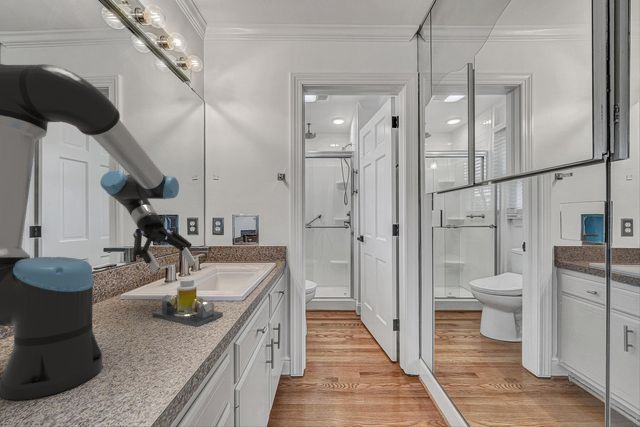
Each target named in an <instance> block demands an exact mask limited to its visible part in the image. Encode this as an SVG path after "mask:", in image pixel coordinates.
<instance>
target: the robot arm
mask: <svg viewBox="0 0 640 427" xmlns="http://www.w3.org/2000/svg"><path fill="white" fill-rule="evenodd" d="M120 119H121V114H120V111H119V110H118V108H116V106H115V105H114V103H113V102H112V101H111V100H110V99H109V98H108V97H107V96H106V95H105V94H104V93H103V92H102V91H101V90H99V88H97V87H96V86H94V85H93V84H92V83H91V82H90V81H88V80H87V79H84V78H83V77H82V76H79V75H78V74H76V73H74V72H73V71H70V70H68V69H66V68H64V67H61V66H57V65H53V64H46V63H45V64H43V63H42V64H4V63H0V327H13V336H14V337H13V347H12V351H11V353H10V356H9V358H8V360H7V363H6V366H5V367H4V370H3V373H2V375H1V377H0V397H2V398H4V399H6V400H12V401H13V400H14V401H15V400H16V401H18V400H20V401H21V400H30V399H31V400H32V399H37V398H43V397H47V396H51V395H55V394H58V393H60V392H61V393H62V392H64V391H67V390H70V389H72V388H74V387H76V386H79V385H81V384H83V383H85V382H87V381H89V380H90V379H92V378H94V377H95V376H96V375H97V374H98V373H99V372H100V371H102V369H103V364H104V362H103V353H102V350H101V348H100V346H99V344H98V341H97V339H96V336H95V334H94V332H93V317H94V316H93V314H94V312H93V309H94V308H93V306H94V304H93V302H94V300H93V299H94V296H93V294H94V290H93V289H94V285H95V281H94V278H93V268H92V265H91V263H89V262H88V261H86V260H84V259H81V258H74V257H65V256H55V257H53V256H52V257H51V256H37V257H31V255H30V254H28V252H26V251H25V250H24V248H22V246H23V240H24V232H25V224H26V218H27V209H28V202H29V196H30V187H31V181H32V173H33V166H34V157H35V153H36V152H35V151H36V143H37V141H38V140H40V139H43V138H44V137H46V136H47V132H48V126H49V123H60V122H61V123H65V124H69V125H71V126H74V127H75V128H76V129H78V130H79V132H81V134H83V135H85V136H90V137H92V139H94V141H96V142H97V143H98V144H99V146H101V147H102V148H103V150H104V151H106V152H107V154H109V156H111V158H112V159H114V160H115V161H116V162H117V164H119V165H120V166H121V167H122V168H123V170H124V171H125V172H126V173H128V174H129V175H126V174H125V173H123V172H122V171H120V170H117V169H113V170H109V171H107V172H106V173H104V174H103V175H102V177H101V179H100V182H99V183H100V186H101V188H102V189H103V190H104V191H105V192H106V194H108V195H110V196H111V197H113V199H115V200H116V201H118V202H119V204H121V205H122V206H123V208H125V209H126V210H127V212H128V214H129V215H130V217H131V219H132V221H133V222H134V224H135V225H136V227H137V228H136V229H135V231H134V232H133V234H132V235H133V239H134V242H133V253H132V254H133V256H135V257H136V256H138V258H139V259H143V261H144V263H145V264H147V265H148V266H149V268H150V270H151V271H152V273H154V274H155V273H156V272H157V271H158V270H159V268H160V265H159V263H158V261H157V260H156V258H155V256H154V255H153V253H152V251H151V250H149V248H150V246H151V244H152V242H153V243H157V242H159V243H161V242H162V243H164V244H168V245H170V246H173V247H174V248H176V249H178V250H180V251H181V254H182V256H183V257H184V259H185V261H186V262H187V264H188V266H189V267H193V266H194V264H195V263H196V262H197V261H196V259H195V257H194V256H193V253H192V251H191V247H192V246H193V244H192V243H191V242H190V241H188V240H187V239H186V238H184V236H182V235H181V234H179V233H178V232H177V231H176V230H175V229H174V228H173V227H170V228H169V229H166V228H165V227H164V222H163V221H162V219H161V217H160V216H159V214H158V213H157V211H156V210H155V208H154V206H152V204H151V203H150V201H149V200H151V199H152V200H167V199H175V198H176V197H177V196H178V194H179V190H180V185H179V181H178V179H177V178H176V177H174V176H173V175H172V176H171V175H166V176H165V174H164V173H162V171H161V170H160V168H159V167H158V166H157V165H156V164H155V162H154V161H153V160H152V159H151V157H150V156H149V155H148V153H147V152H146V151H145V150H144V148H143V147H142V145H140V144H139V141H137V140H136V138H135V137H134V136H133V135H132V133H131V132H130V131H129V130H128V128H127V127H126V126H125V124H124V123H123V122H122V121H121V120H120ZM143 237H144V238H146V241H145V242H144V245H143V247H142V240H143V239H142V238H143Z"/></svg>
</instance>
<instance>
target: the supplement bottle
mask: <svg viewBox="0 0 640 427" xmlns="http://www.w3.org/2000/svg"><path fill="white" fill-rule="evenodd" d="M176 295H177V312H178V313H179V314H190V313H193V311H192V309H191V305H192V302H193V301H194V299H196V298H197V285H196V284H195V279H194V278H183V279H180V282H179V285H178V287H177V293H176Z"/></svg>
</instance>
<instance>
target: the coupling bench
mask: <svg viewBox="0 0 640 427" xmlns="http://www.w3.org/2000/svg"><path fill="white" fill-rule="evenodd" d="M191 309H192V311H193V313H190V314H179V313H178V312H177V294H175V295H171V294H165V295H164V296H163V297H162V301H161V309H160V310H157V311H154V312H152V315H151V317H153V318H156V319H160V320H165V321H171V322H175V323H179V324H183V325H188V326H193V327H196V328H198V327H200V326H202V325H205V324H207V323H210V322H213V321H215V320H217V319H220V318H222V317H223V316H224V315H223V314H224V313H223V312H222V311H216V310H215V303H214V302H212V301H207V300H204V299H203V298H202V297H196V299H194V301H193V302H192V305H191Z"/></svg>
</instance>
